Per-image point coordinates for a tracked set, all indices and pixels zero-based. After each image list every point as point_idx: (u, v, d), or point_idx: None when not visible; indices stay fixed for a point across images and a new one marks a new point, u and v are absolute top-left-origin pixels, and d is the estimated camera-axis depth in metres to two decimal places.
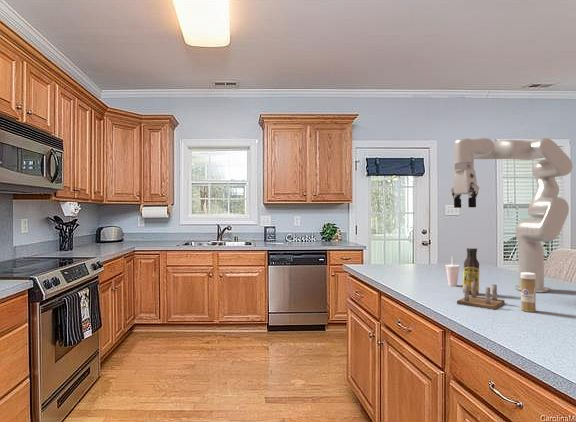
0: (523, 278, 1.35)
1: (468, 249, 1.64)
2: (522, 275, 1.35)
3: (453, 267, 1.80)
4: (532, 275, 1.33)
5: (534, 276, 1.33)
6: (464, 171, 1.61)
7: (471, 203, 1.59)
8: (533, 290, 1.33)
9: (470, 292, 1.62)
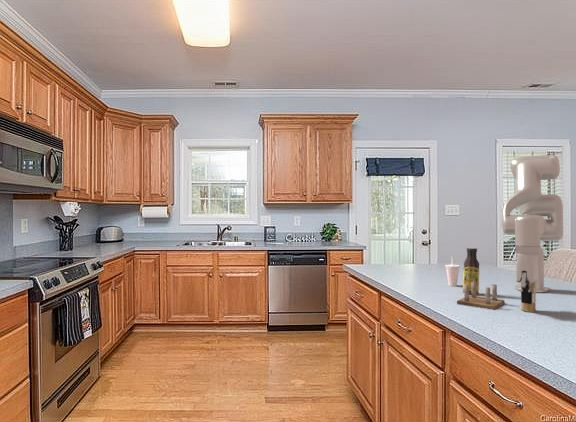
0: None
1: (468, 249, 1.64)
2: None
3: (453, 267, 1.80)
4: None
5: None
6: None
7: None
8: (533, 290, 1.33)
9: (470, 292, 1.62)
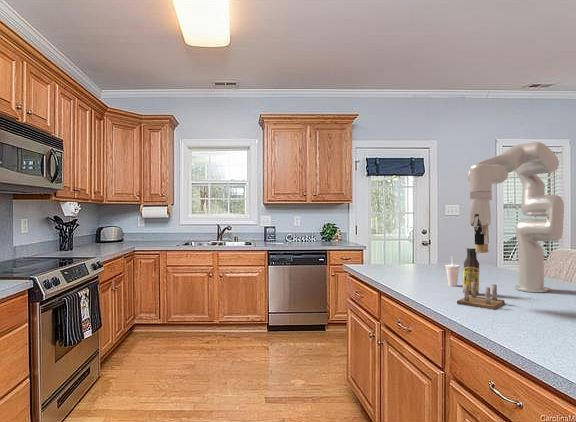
0: None
1: (468, 249, 1.64)
2: None
3: (453, 267, 1.80)
4: None
5: None
6: (489, 201, 1.47)
7: None
8: (485, 232, 1.44)
9: (470, 292, 1.62)
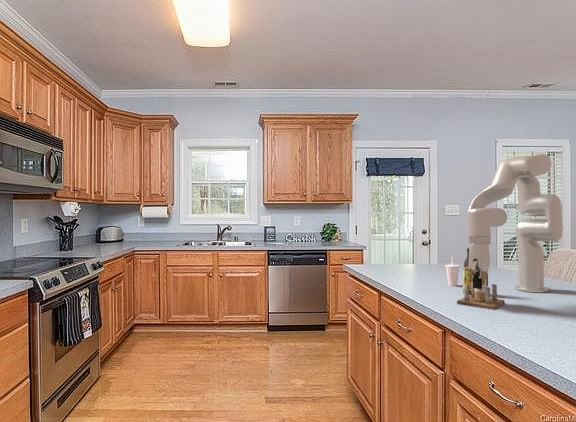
0: None
1: (468, 249, 1.64)
2: None
3: (453, 267, 1.80)
4: None
5: (485, 268, 1.45)
6: (488, 245, 1.48)
7: None
8: (484, 281, 1.45)
9: (470, 292, 1.62)
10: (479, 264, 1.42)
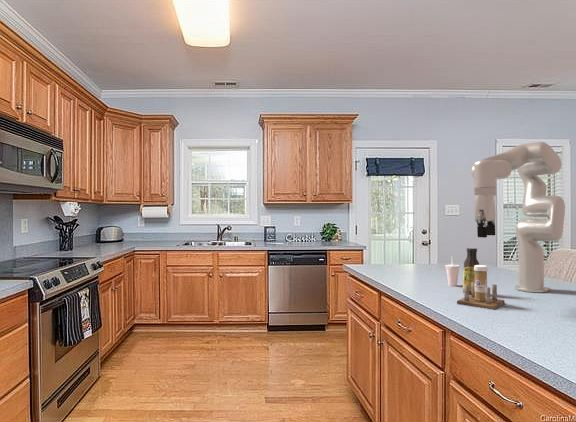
0: (476, 270, 1.46)
1: (468, 249, 1.64)
2: (475, 267, 1.47)
3: (453, 267, 1.80)
4: (484, 267, 1.45)
5: (485, 268, 1.45)
6: None
7: None
8: (484, 281, 1.45)
9: (470, 292, 1.62)
10: (485, 215, 1.43)
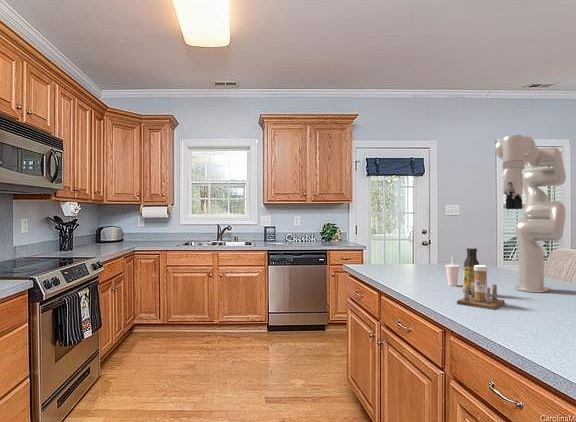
0: (476, 270, 1.46)
1: (468, 249, 1.64)
2: (475, 267, 1.47)
3: (453, 267, 1.80)
4: (484, 267, 1.45)
5: (485, 268, 1.45)
6: None
7: None
8: (484, 281, 1.45)
9: (470, 292, 1.62)
10: (514, 187, 1.48)
